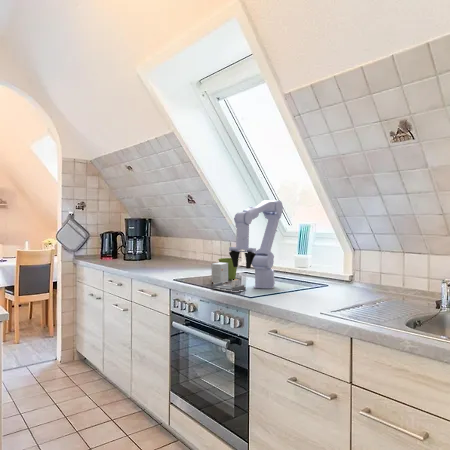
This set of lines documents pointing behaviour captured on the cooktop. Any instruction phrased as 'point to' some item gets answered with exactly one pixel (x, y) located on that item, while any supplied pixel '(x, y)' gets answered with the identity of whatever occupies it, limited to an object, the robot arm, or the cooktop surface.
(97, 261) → the cooktop surface
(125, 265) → the cooktop surface
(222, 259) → the plant pot
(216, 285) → the console strip
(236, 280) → the fader knob
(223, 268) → the small box
